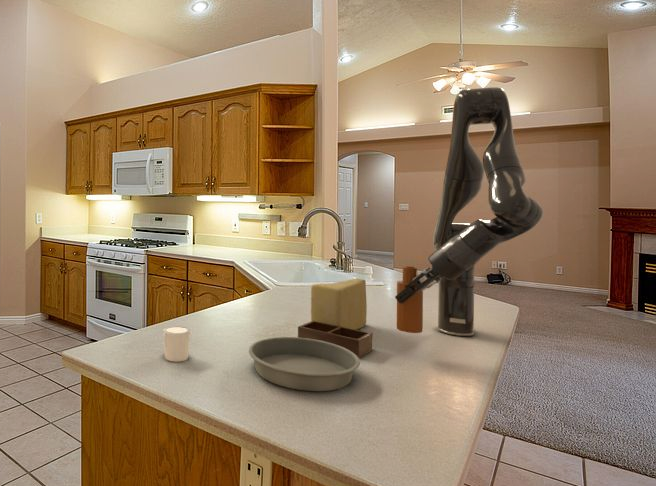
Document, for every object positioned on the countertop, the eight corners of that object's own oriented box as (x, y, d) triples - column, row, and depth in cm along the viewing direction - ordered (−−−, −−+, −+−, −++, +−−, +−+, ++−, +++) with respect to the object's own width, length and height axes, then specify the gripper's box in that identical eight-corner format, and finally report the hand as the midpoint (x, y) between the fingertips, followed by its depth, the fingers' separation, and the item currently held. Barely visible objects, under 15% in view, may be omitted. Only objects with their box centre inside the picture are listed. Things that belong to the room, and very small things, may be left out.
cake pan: (299, 404, 87) (299, 381, 87) (228, 363, 109) (228, 344, 109) (384, 382, 98) (384, 361, 98) (304, 348, 120) (304, 331, 120)
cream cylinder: (194, 355, 114) (194, 327, 114) (183, 364, 108) (183, 335, 108) (170, 351, 117) (170, 324, 117) (158, 359, 111) (158, 331, 111)
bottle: (401, 325, 119) (401, 264, 119) (425, 329, 115) (425, 267, 115) (393, 329, 114) (393, 267, 114) (418, 334, 110) (418, 269, 110)
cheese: (350, 321, 148) (350, 275, 148) (378, 328, 140) (379, 280, 140) (309, 332, 134) (309, 283, 134) (338, 341, 127) (339, 288, 127)
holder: (313, 336, 131) (313, 320, 131) (372, 350, 119) (372, 333, 119) (297, 343, 125) (297, 326, 125) (358, 358, 113) (358, 340, 113)
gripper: (450, 242, 114) (400, 283, 123) (434, 247, 104) (381, 290, 112) (475, 265, 111) (421, 305, 119) (461, 272, 100) (403, 315, 109)
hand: (402, 298), depth 116 cm, fingers closed on bottle, 6 cm apart
